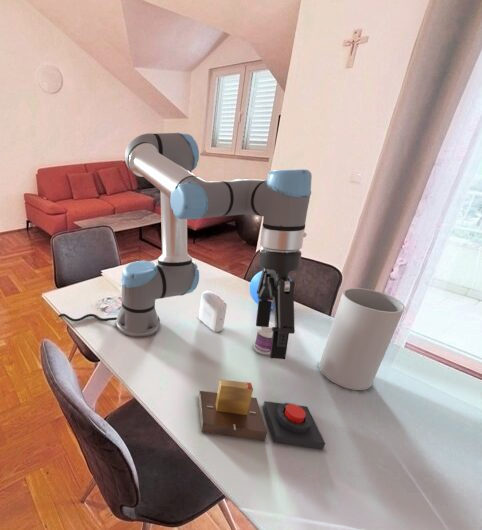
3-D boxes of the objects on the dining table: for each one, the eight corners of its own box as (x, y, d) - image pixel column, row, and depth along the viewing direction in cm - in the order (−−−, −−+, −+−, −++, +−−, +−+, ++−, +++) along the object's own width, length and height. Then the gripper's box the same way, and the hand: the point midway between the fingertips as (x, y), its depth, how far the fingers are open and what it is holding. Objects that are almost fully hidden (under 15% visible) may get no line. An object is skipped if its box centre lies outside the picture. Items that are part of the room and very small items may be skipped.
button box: (274, 443, 70) (278, 430, 69) (262, 407, 79) (265, 395, 78) (322, 450, 69) (327, 437, 67) (305, 412, 78) (309, 401, 76)
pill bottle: (273, 356, 97) (280, 330, 93) (255, 354, 98) (261, 328, 94) (269, 345, 102) (275, 320, 98) (252, 343, 103) (257, 318, 99)
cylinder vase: (361, 365, 93) (391, 292, 83) (378, 396, 83) (415, 316, 73) (313, 356, 97) (336, 285, 87) (324, 385, 86) (352, 307, 76)
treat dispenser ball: (283, 298, 130) (291, 265, 124) (294, 318, 116) (304, 282, 110) (243, 294, 133) (250, 261, 127) (250, 313, 120) (257, 277, 114)
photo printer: (224, 330, 110) (229, 299, 105) (214, 333, 108) (219, 302, 103) (205, 315, 119) (209, 286, 114) (196, 318, 117) (200, 289, 112)
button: (287, 422, 71) (289, 416, 71) (282, 408, 75) (283, 402, 74) (306, 424, 71) (308, 419, 70) (300, 410, 74) (301, 405, 74)
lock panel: (201, 434, 72) (203, 425, 71) (197, 397, 83) (199, 388, 81) (265, 444, 70) (268, 434, 69) (253, 404, 80) (256, 395, 79)
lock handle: (216, 411, 75) (221, 384, 72) (215, 404, 77) (219, 378, 73) (247, 415, 74) (253, 388, 70) (245, 408, 76) (251, 382, 72)
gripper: (327, 267, 51) (308, 377, 57) (282, 235, 74) (272, 316, 81) (277, 266, 53) (264, 372, 59) (249, 235, 76) (241, 314, 82)
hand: (269, 340), depth 70 cm, fingers open, 13 cm apart
